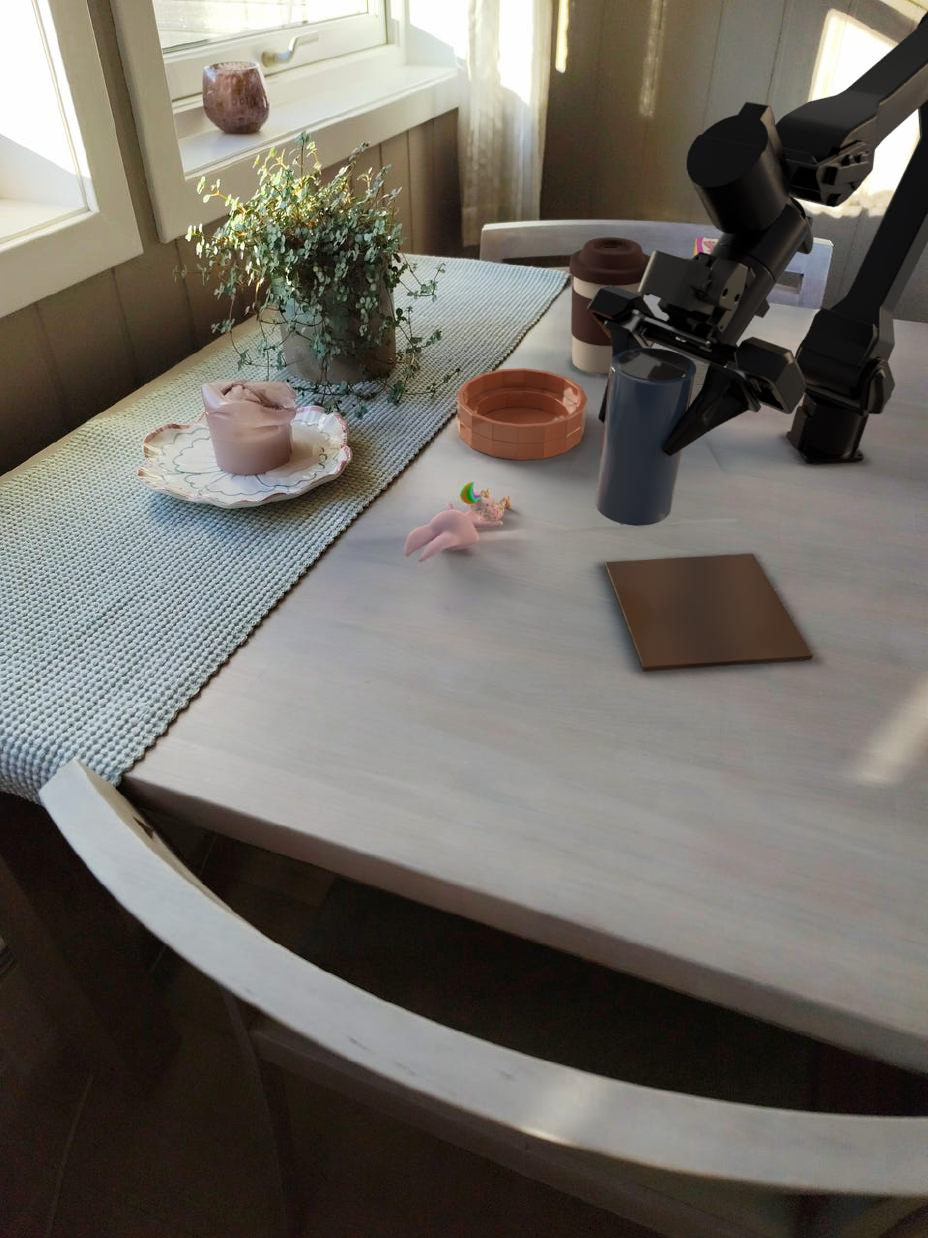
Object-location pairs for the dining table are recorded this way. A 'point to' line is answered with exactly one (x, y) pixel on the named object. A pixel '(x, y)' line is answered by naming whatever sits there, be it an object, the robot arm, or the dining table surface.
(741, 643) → the board
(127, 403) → the dining table surface
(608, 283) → the coffee cup
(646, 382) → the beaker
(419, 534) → the rabbit figure
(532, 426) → the bowl
